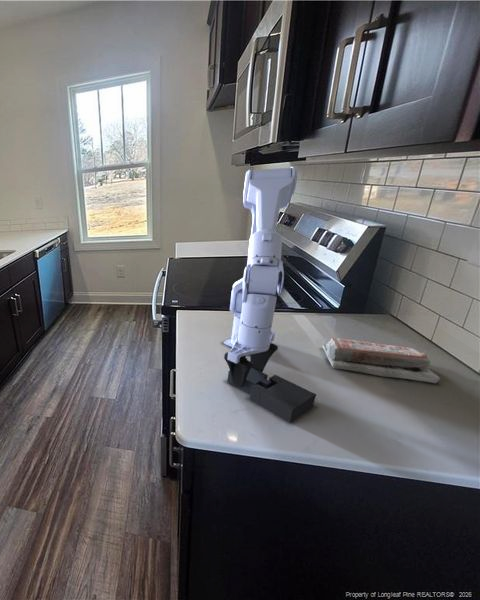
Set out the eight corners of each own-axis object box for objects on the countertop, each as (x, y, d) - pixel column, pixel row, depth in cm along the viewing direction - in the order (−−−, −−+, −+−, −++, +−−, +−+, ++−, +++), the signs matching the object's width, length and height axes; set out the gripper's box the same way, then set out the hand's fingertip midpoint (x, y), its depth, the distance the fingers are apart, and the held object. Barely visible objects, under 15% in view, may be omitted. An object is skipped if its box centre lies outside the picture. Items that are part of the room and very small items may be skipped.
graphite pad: (239, 374, 73) (241, 363, 72) (273, 390, 67) (276, 378, 66) (227, 382, 71) (228, 371, 70) (261, 399, 65) (263, 387, 64)
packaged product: (336, 351, 71) (325, 331, 80) (331, 369, 73) (321, 348, 81) (446, 365, 64) (421, 342, 72) (438, 385, 66) (414, 360, 74)
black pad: (272, 386, 69) (275, 374, 68) (313, 406, 62) (316, 394, 61) (249, 399, 65) (251, 387, 64) (289, 422, 59) (292, 409, 57)
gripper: (255, 307, 71) (247, 359, 76) (216, 326, 64) (210, 382, 69) (289, 317, 66) (278, 372, 71) (251, 339, 58) (242, 399, 63)
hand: (247, 378), depth 69 cm, fingers open, 7 cm apart
